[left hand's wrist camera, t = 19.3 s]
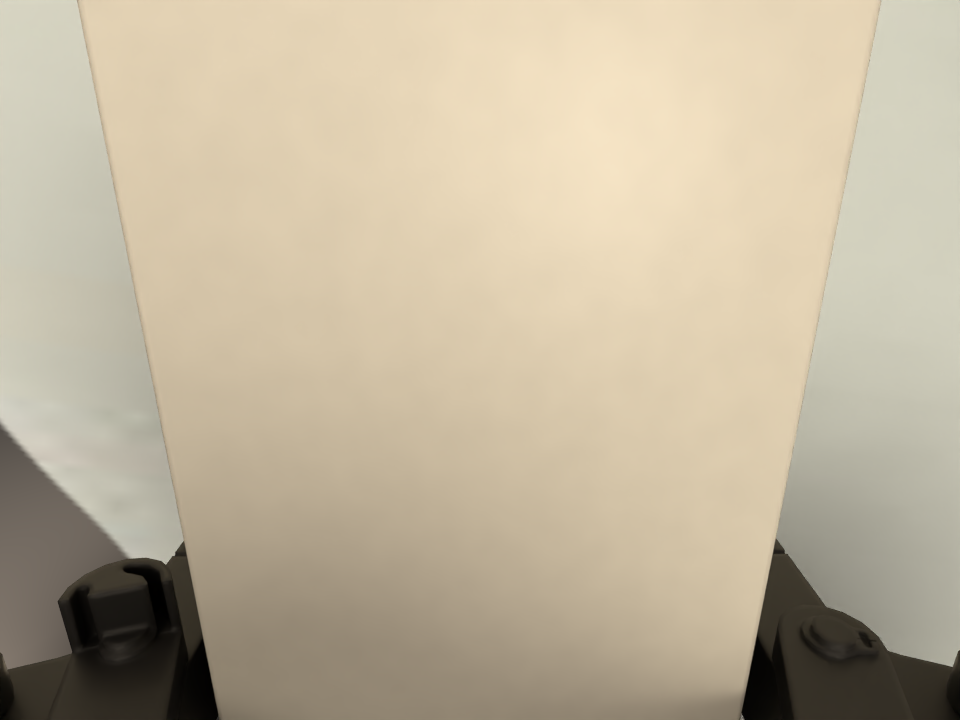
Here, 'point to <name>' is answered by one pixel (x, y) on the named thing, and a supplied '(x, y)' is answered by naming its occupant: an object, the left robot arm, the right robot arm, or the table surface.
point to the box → (479, 334)
